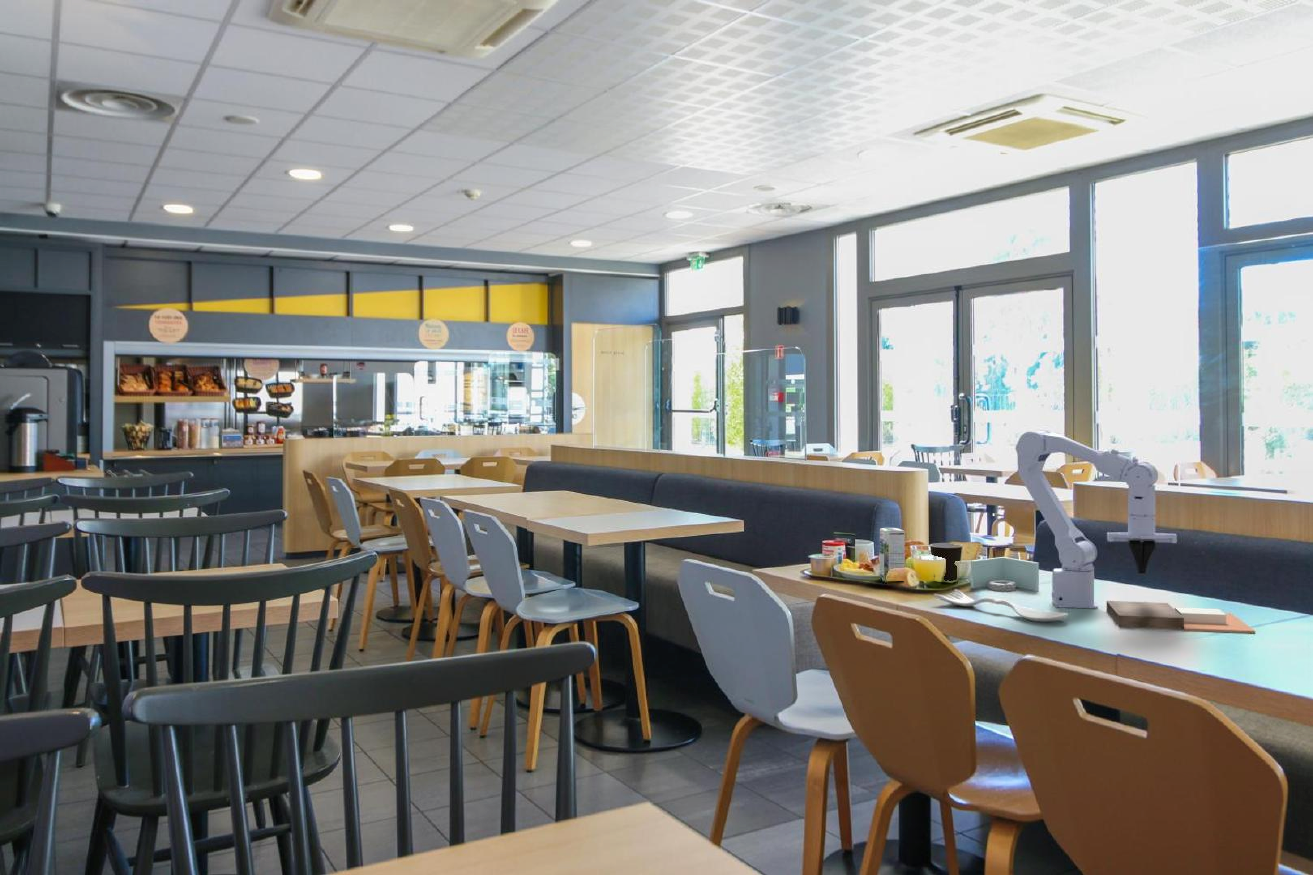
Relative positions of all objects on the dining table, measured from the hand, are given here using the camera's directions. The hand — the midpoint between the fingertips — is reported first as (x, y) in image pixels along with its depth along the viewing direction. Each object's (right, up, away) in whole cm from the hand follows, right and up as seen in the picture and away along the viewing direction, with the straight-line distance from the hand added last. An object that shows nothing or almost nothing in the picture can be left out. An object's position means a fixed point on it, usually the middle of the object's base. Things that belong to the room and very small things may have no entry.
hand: (1141, 572), depth 232 cm
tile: (+8, -9, -10) cm, 16 cm away
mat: (+10, -10, -11) cm, 17 cm away
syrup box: (-47, -9, +46) cm, 66 cm away
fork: (-32, -10, +3) cm, 34 cm away
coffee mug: (-32, -8, +45) cm, 56 cm away
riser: (-3, -10, -7) cm, 12 cm away
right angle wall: (-21, -9, +31) cm, 39 cm away
